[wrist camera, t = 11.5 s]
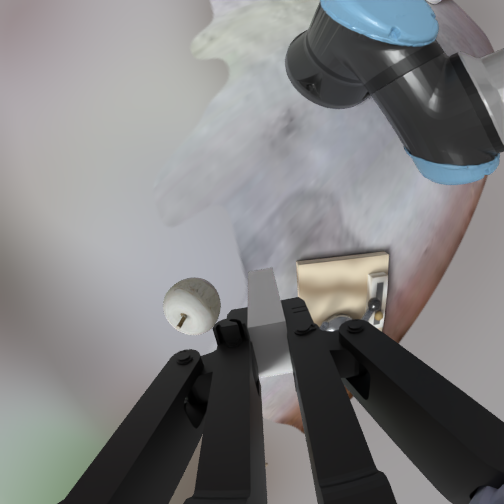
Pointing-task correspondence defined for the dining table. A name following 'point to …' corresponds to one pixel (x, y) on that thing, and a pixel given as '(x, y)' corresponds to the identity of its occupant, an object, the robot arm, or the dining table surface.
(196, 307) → the decorative object
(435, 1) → the can
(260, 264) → the dining table surface
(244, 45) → the dining table surface
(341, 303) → the stand
